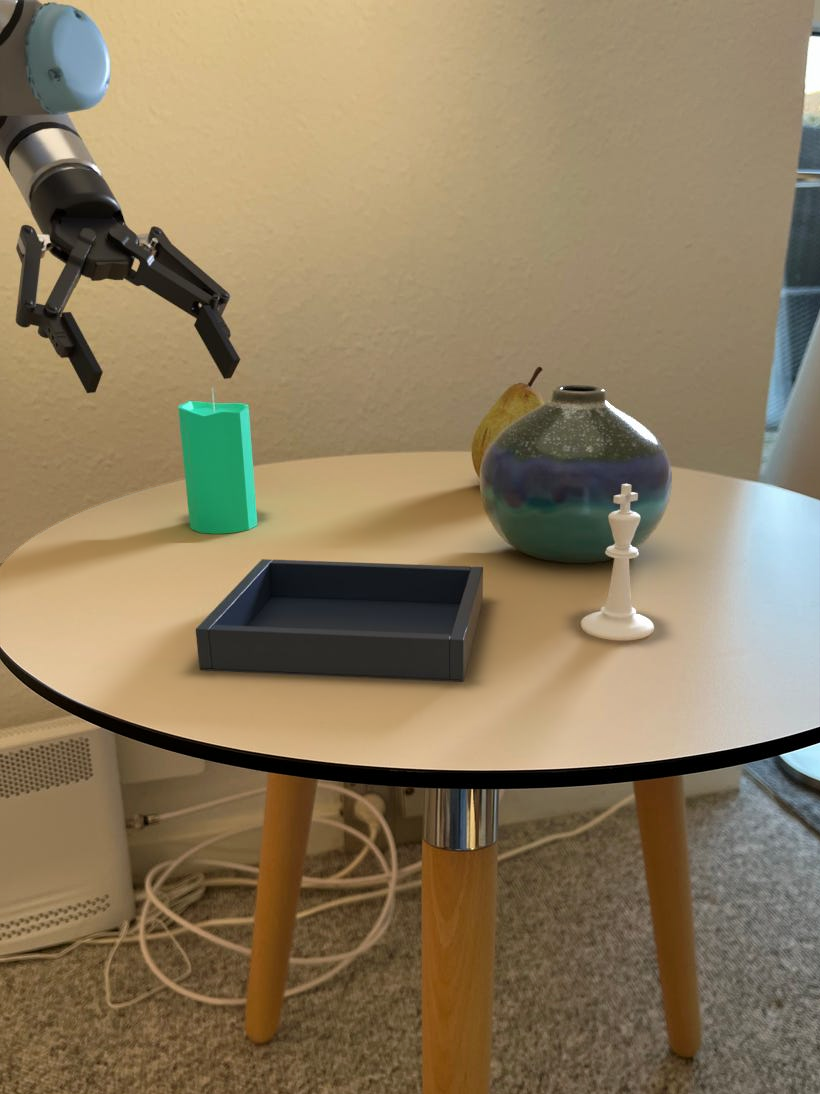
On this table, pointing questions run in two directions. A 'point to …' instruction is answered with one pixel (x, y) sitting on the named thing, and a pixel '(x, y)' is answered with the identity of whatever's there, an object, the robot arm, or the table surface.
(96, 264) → the robot arm
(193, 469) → the candle
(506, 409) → the fruit
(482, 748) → the table surface
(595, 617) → the chess piece
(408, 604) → the tray
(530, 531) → the vase
